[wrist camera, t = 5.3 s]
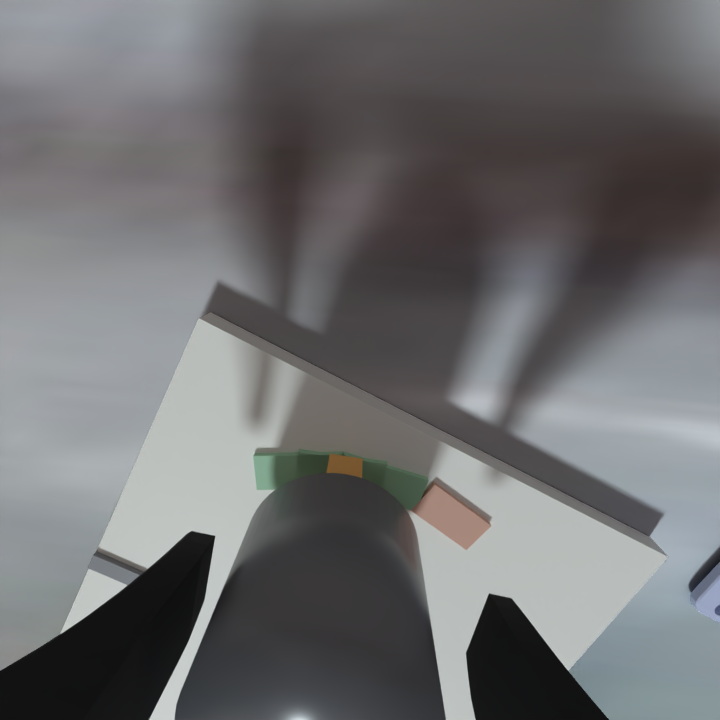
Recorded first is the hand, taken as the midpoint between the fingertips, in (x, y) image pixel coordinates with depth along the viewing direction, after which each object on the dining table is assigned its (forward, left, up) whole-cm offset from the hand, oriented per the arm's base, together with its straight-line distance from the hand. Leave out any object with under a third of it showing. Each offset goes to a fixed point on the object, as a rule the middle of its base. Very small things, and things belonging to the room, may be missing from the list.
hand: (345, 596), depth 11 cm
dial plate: (-1, +6, -4) cm, 7 cm away
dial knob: (0, +3, -3) cm, 4 cm away
